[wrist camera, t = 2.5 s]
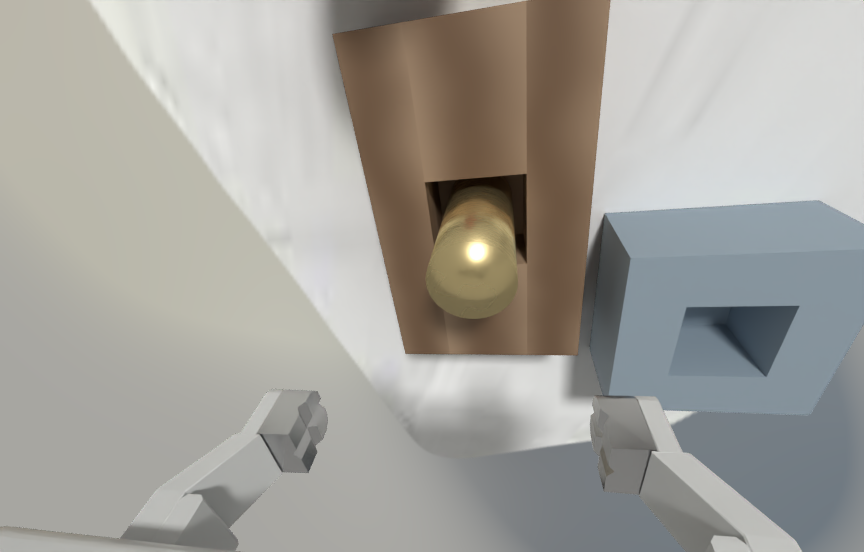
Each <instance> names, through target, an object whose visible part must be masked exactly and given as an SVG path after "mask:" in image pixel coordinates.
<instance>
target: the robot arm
mask: <svg viewBox="0 0 864 552" xmlns="http://www.w3.org/2000/svg"><path fill="white" fill-rule="evenodd" d="M320 399H321V398H320V396H319V394H318V392H317V391H307V390H283V389H271V390H269V391H268V392H266V394H265V395H264V397H263V399H262V400H261V402H260V403H259V405H258V406H257V408H256V409H255V411H254V412H253V414H252V415H251V417H250V418H249V420H248V422H247V423H246V425H245V426H244V428H243V429H242V431H241V433H239V434H238V433H235V434H234V435H233V436H231V437H230V438H228V439H227V440H226V441H224V442H223V443H221V444H220V445H219V446H218V447H216V448H214V449H213V450H212V451H210V452H209V453H207V454H206V455H204V456H203V457H202V458H200V459H199V460H197V461H196V462H195V463H194V464H192V465H190V466H189V467H188V468H186V469H185V470H183V471H182V472H181V473H179V474H178V475H176V476H175V477H174V478H172V479H171V480H169V481H168V482H167V483H165V484H164V485H163V486H161V487H160V488H158V489H157V490H156V491H155V492H154V494H153V495H152V497H151V498H150V499H149V500H148V502H147V503H146V504H145V506H144V507H143V508H142V510H141V511H140V512H139V514H138V515H137V516H136V518H135V519H134V521H133V522H132V523H131V524H130V526H129V527H128V529H127V530H126V531H125V533H124V534H123V535H122V536H121V538H120V539H119V538H110V537H100V536H91V535H82V534H73V533H63V532H54V531H46V530H37V529H28V528H20V527H8V526H4V527H0V552H238V551H235V550H236V548H237V546H238V539H237V538H236V537H235V535H234V534H233V533H232V532H231V531H230V529H229V528H230V526H231V525H232V524H233V523H234V522H235V521H236V520H237V519H238V518H239V517H240V516H241V515H242V514H243V513H244V512H245V511H246V510H247V509H248V508H249V507H250V506H251V505H252V504H253V503H254V502H255V501H256V500H257V499H258V498H259V497H260V496H261V495H262V494H263V493H264V492H265V491H266V490H267V489H268V488H269V487H270V486H271V485H272V484H273V483H274V482H275V481H276V480H277V479H278V478H279V477H280V476H281V475H282V472H295V473H296V472H297V473H309V470H310V467H311V465H312V463H313V461H314V458H315V456H316V454H317V450H316V446H315V445H316V444H318V443H319V442H320V441H321V440H322V439H323V438H324V435H325V432H326V429H327V423H328V417H327V412H326V410H325V408H324V407H322V406H321V405H320V404H319V401H320ZM592 406H593V410H594V413H593V414H592V415H591V419H590V434H591V440H592V445H593V449H594V452H595V453H596V454H597V455H598V456H599V462H598V470H599V474H600V478H601V482H602V486H603V490H604V492H616V493H626V494H637V495H640V496H639V497H640V498H641V499H642V500H643V501H644V503H645V504H646V505H647V506H648V507H649V509H650V510H651V511H652V512H653V513H654V514H655V516H656V517H657V518H658V519H659V520H660V522H661V523H662V524H663V525H664V526H665V527H666V529H667V530H668V531H669V532H670V533H671V535H672V536H673V537H674V538H675V539H676V540H677V542H678V543H679V544H680V545H681V546H682V547H683V549H684V550H685V551H686V552H802V551H801V549H800V547H799V545H798V544H797V542H796V540H794V539H793V538H792V537H791V536H790V535H788V534H787V533H786V532H785V531H784V530H782V529H781V528H780V527H779V526H777V525H776V524H775V523H774V522H773V521H771V520H770V519H769V518H768V517H767V516H765V515H764V514H763V513H762V512H760V511H759V510H758V509H757V508H756V507H754V506H753V505H752V504H751V503H750V502H748V501H747V500H746V499H745V498H743V497H742V496H741V495H740V494H739V493H737V492H736V491H735V490H734V489H732V488H731V487H730V486H729V485H728V484H726V483H725V482H724V481H723V480H722V479H720V478H719V477H718V476H717V475H715V474H714V473H713V472H712V471H710V470H709V469H708V468H707V467H706V466H705V465H703V464H702V463H701V462H700V461H698V460H697V459H696V458H695V457H694V456H692V455H691V454H690V453H683V452H682V450H681V448H680V445H679V443H678V441H677V439H676V437H675V435H674V432H673V430H672V428H671V426H670V424H669V422H668V419H667V417H666V415H665V413H664V411H663V409H662V406H661V404H660V402H659V400H658V399H657V398H656V397H655V396H604V395H595V396H594V398H593V402H592Z"/></svg>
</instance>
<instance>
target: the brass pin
mask: <svg viewBox="0 0 864 552" xmlns="http://www.w3.org/2000/svg"><path fill="white" fill-rule="evenodd" d="M426 286H427V290H428V292H429V294H430V296H431V298H432V299H433V300H434V302H435V303H436V304H437V305H438V306H439V307H441V308H442V309H443V310H445V311H446V312H448V313H450V314H452V315H455V316H458V317H461V318H467V319H481V318H486V317H490V316H493V315H495V314H497V313H499V312H501V311H502V310H504V309H505V308H506V307H507V306H508V305H509V304H510V303H511V302H512V300H513V298H514V297H515V294H516V292H517V288H518V274H517V260H516V245H515V231H514V217H513V202H512V192H511V188H510V186H509V184H508V182H507V181H506V179H505V178H504V177H503V176H494V177H482V178H470V179H458V180H457V181H456V182H455V184H454V186H453V188H452V191H451V194H450V197H449V200H448V204H447V207H446V210H445V213H444V217H443V220H442V223H441V226H440V229H439V233H438V236H437V239H436V242H435V245H434V249H433V252H432V255H431V258H430V261H429V265H428V268H427V272H426Z"/></svg>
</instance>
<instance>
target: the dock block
mask: <svg viewBox="0 0 864 552" xmlns="http://www.w3.org/2000/svg"><path fill="white" fill-rule="evenodd" d="M863 324H864V224H863V223H861V222H859V221H857V220H855V219H853V218H851V217H849V216H848V215H846V214H844V213H842V212H840V211H838V210H836V209H834V208H832V207H830V206H829V205H827V204H825V203H823V202H821V201H803V202H786V203H769V204H753V205H736V206H720V207H703V208H686V209H670V210H653V211H637V212H620V213H605V217H604V225H603V234H602V243H601V252H600V261H599V270H598V279H597V287H596V296H595V305H594V314H593V323H592V332H591V340H590V351H591V355H592V358H593V362H594V366H595V369H596V373H597V376H598V380H599V383H600V387H601V390H602V394H603V395H604V396H655V397H656V398H657V399H658V400H659V402H660V404H661V406H662V409H663V410H675V411H703V412H733V413H762V414H788V415H789V414H790V415H810V413H811V412H812V410H813V409H814V407H815V405H816V404H817V402H818V400H819V399H820V397H821V395H822V394H823V392H824V390H825V389H826V387H827V385H828V383H829V382H830V380H831V378H832V377H833V375H834V373H835V372H836V370H837V368H838V366H839V365H840V363H841V362H842V360H843V358H844V357H845V355H846V353H847V351H848V350H849V348H850V346H851V345H852V343H853V341H854V340H855V338H856V336H857V335H858V333H859V331H860V330H861V328H862V326H863Z"/></svg>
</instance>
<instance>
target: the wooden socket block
mask: <svg viewBox="0 0 864 552" xmlns="http://www.w3.org/2000/svg"><path fill="white" fill-rule="evenodd" d="M609 9H610V0H528V1H523V2H517V3H511V4H505V5H499V6H493V7H488V8H482V9H476V10H470V11H464V12H458V13H453V14H447V15H441V16H435V17H429V18H423V19H418V20H412V21H406V22H400V23H394V24H388V25H383V26H377V27H371V28H365V29H359V30H353V31H348V32H342V33H336V34H332V35H333V39H334V44H335V48H336V52H337V57H338V61H339V66H340V70H341V74H342V79H343V83H344V87H345V92H346V96H347V100H348V105H349V109H350V114H351V118H352V122H353V127H354V131H355V135H356V140H357V144H358V148H359V153H360V157H361V162H362V166H363V170H364V175H365V179H366V183H367V188H368V192H369V196H370V201H371V205H372V210H373V214H374V218H375V223H376V227H377V231H378V236H379V240H380V244H381V249H382V253H383V258H384V262H385V266H386V271H387V275H388V279H389V284H390V288H391V292H392V297H393V301H394V306H395V310H396V314H397V319H398V323H399V327H400V332H401V336H402V340H403V345H404V349H405V354H490V355H578V346H579V335H580V324H581V313H582V302H583V291H584V280H585V270H586V259H587V248H588V237H589V226H590V215H591V205H592V194H593V183H594V172H595V161H596V150H597V139H598V129H599V118H600V107H601V96H602V85H603V74H604V64H605V53H606V42H607V31H608V20H609ZM494 176H503V177H504V178H505V179H506V181H507V182H508V184H509V186H510V188H511V192H512V202H513V217H514V231H515V245H516V260H517V274H518V288H517V292H516V294H515V297H514V298H513V300H512V302H511V303H510V304H509V305H508V306H507V307H506V308H505V309H504V310H502V311H501V312H499V313H497V314H495V315H493V316H490V317H486V318H481V319H467V318H461V317H458V316H455V315H452V314H450V313H448V312H446V311H445V310H443V309H442V308H441V307H439V306H438V305H437V304H436V303H435V302H434V300H433V299H432V298H431V296H430V294H429V292H428V290H427V286H426V272H427V268H428V265H429V261H430V258H431V255H432V252H433V249H434V245H435V242H436V239H437V236H438V233H439V229H440V226H441V223H442V220H443V217H444V213H445V210H446V207H447V204H448V200H449V197H450V194H451V191H452V188H453V186H454V184H455V182H456V181H457V180H458V179H470V178H482V177H494Z"/></svg>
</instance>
